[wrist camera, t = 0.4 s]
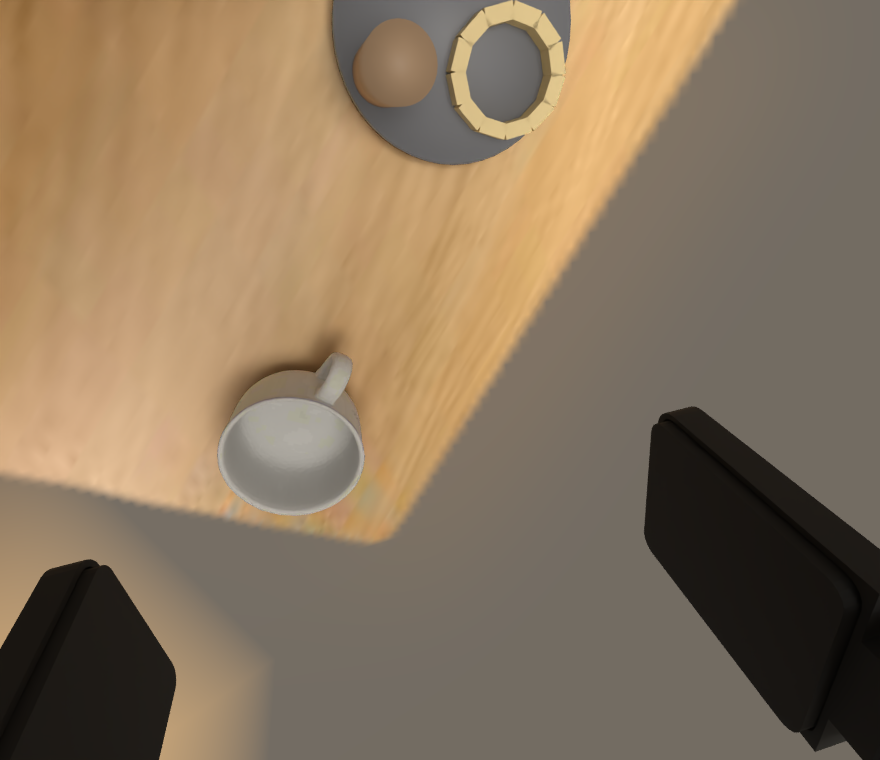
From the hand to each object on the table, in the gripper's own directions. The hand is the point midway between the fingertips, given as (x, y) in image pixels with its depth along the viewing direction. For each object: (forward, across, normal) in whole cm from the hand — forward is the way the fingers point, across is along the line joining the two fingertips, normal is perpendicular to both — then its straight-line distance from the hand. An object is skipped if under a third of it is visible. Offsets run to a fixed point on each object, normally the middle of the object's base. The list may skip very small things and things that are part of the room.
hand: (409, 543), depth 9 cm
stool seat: (+35, -10, -10) cm, 38 cm away
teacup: (+35, +6, +15) cm, 39 cm away
